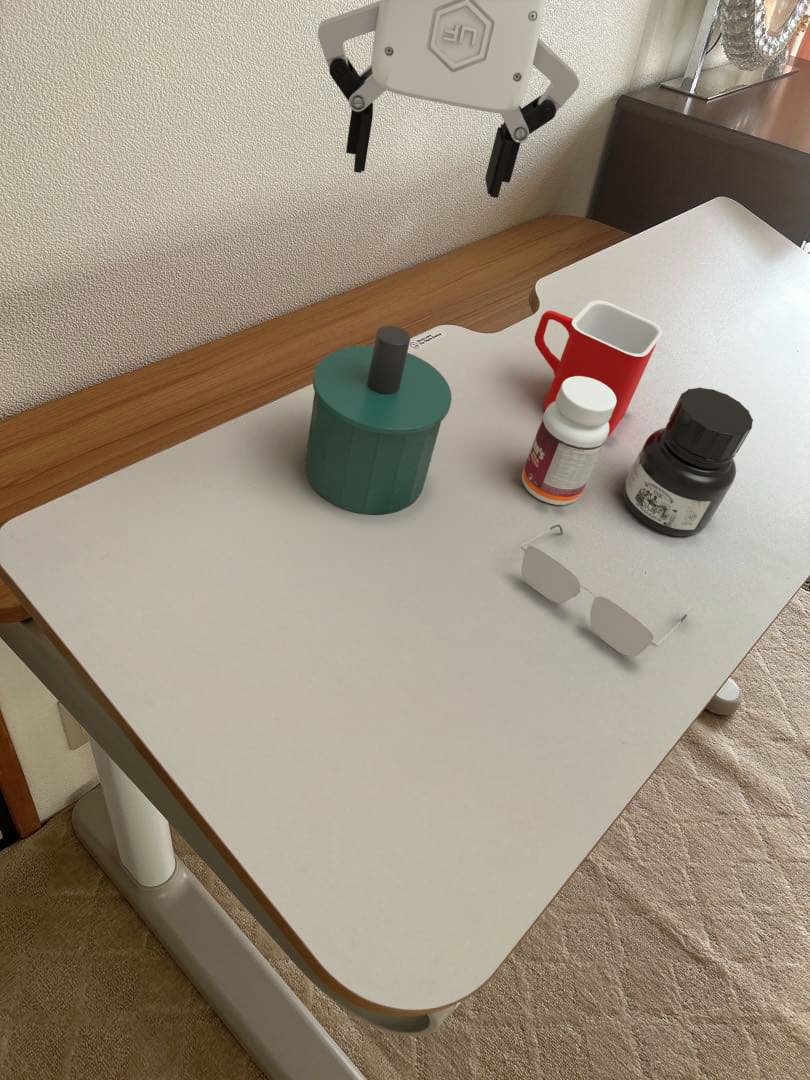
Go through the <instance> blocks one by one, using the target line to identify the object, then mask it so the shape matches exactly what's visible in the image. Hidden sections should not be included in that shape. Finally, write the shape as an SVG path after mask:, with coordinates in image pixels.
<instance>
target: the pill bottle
mask: <svg viewBox="0 0 810 1080" xmlns="http://www.w3.org/2000/svg"><path fill="white" fill-rule="evenodd" d="M616 401H617V400H616V396H615V394H614V392H613V391H612V390H611V389H610V388H609V387H608V386H606V385H605V384H603V383H602V382H600V381H597V380H595V379H592V378H588V377H583V376H574V377H570V378H567V379H566V380H565V381H564V382H563V383H562V385H561V387H560V390H559V392H558V394H557V397H556V401H554V402H553V403H551V404H550V405H549V406H548V407H547V409H546V411H545V410H544V413H543V416H542V418H541V421H540V423H539V426H538V429H537V431H536V434H535V436H534V439H533V442H532V445H531V447H530V449H529V453H528V455H527V458H526V461H525V463H524V466H523V470H522V472H521V480H522V484H523V486H524V488H525V489H526V491H528V492H529V493H530V494H531V495H532V496H533V497H534V498H536V499H537V500H540V501H542V502H544V503H547V504H552V505H558V506H561V505H562V506H564V505H565V506H566V505H570V504H572V503H575V501H577V500H578V499H579V498H581V495H582V494H583V492H584V490H585V488H586V486H587V484H588V481H589V479H590V476H591V474H592V472H593V470H594V468H595V465H596V463H597V461H598V458H599V457H600V454H601V452H602V450H603V448H604V445H605V443H606V441H607V439H608V437H609V436H608V434H609V422H608V421H609V420H610V418H611V415H612V412H613V410H614V408H615V405H616ZM607 436H608V437H607Z"/></svg>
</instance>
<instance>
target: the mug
mask: <svg viewBox="0 0 810 1080" xmlns="http://www.w3.org/2000/svg"><path fill="white" fill-rule="evenodd" d="M550 320H551V321H555V322H557V323H559V324H561V325H562V326H563V327H564V328H565V329H566V331H567V333H568V337H567V341H566V343H565V346H564V348H563V352H562V354H561V357H560V359H559V358H558V357H557V356H555V354H554V353H552V351H551V350H550V348H549V347H548V346H547V344H546V342H545V333H546V331H547V328H548V323H549V321H550ZM663 335H664V329H663V328H662V327H661V326H660V325H659V324H658V323H657V322H654V321H653V320H650V319H648V318H645V317H643V316H641V315H639V314H637V313H635V312H632V311H630V310H627V309H626V308H623V307H621V306H618V305H616V304H614V303H612V302H610V301H606V300H603V299H593V300H591V301H589V302H588V303H587V304H586V305H585V306H584V308H582V309H581V311H579V312H578V314H576V315H575V317H574V318H573V317H570V316H567V315H564V314H562V313H560V312H557V311H554V310H546V311H545V312H544V313H543V314H542V315H541V317H540V320H539V322H538V326H537V329H536V331H535V334H534V344H535V346H536V348H537V350H538V351H539V353H540V354H541V356H542V357H543V358H544V360H545V361H546V363H547V364H548V365H549V367H550V368H551V369H552V371H553V374H554V375H553V378H552V382H551V384H550V387H549V390H548V393H547V395H546V398H545V401H544V403H543V410H544V412H545V411H546V409H547V407H548V406H549V405H550V404H551V403H553V402H554V401H556V397H557V394H558V392H559V390H560V387H561V385H562V383H563V382H564V381H565V380H566V379H567V378H570V377H574V376H583V377H588V378H592V379H595V380H597V381H600V382H602V383H603V384H605V385H606V386H608V387H609V388H610V389H611V390H612V391H613V392H614V394H615V396H616V400H617V401H616V405H615V408H614V410H613V412H612V415H611V418H610V420H609V421H608V422H609V434H608V436H607V438H609V437H610V436H611V434H612V433H613V432H614V430H615V429H616V428H617V426H618V425H619V424H620V422H621V421H622V419H623V418H624V416H625V415H626V412H627V411H628V408H629V405H630V404H631V401H632V400H633V397H634V395H635V392H636V390H637V388H638V386H639V383H640V381H641V379H642V377H643V375H644V373H645V370H646V368H647V365H648V364H649V361H650V359H651V357H652V355H653V352H654V350H655V348H656V346H657V343H658V342H659V340H660V339H662V337H663Z"/></svg>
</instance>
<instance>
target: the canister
mask: <svg viewBox="0 0 810 1080" xmlns="http://www.w3.org/2000/svg"><path fill="white" fill-rule="evenodd" d="M312 401H313V402H312V407H311V415H310V421H309V422H310V423H309V428H308V435H307V436H308V437H307V443H306V450H305V456H304V457H305V458H304V460H305V473H306V474H305V475H306V477H307V480H308V482H309V483H310V485H311V487H312V489H314V491H315V492H316V493H317V494H318V495H319V496H321V497H322V499H324V500H326V501H327V502H329V503H331V504H332V505H334V506H336V507H338V508H341V509H342V510H346V511H349V512H352V513H356V514H363V515H372V516H373V515H374V516H376V515H386V514H393V513H396V512H399V511H402V510H404V509H406V508H408V507H410V506H411V505H412V504H414V503H415V502H416V501H417V500H418V498H419V497H420V496H421V494H422V493H423V489H424V486H425V483H426V480H427V477H428V476H427V475H428V472H429V469H430V465H431V461H432V457H433V454H434V450H435V446H436V443H437V439H438V435H439V432H440V428H441V424H442V421H441V422H440V423H438V424H437V425H436V426H434V427H432V428H430V429H428V430H425V431H422V432H418V433H413V434H405V435H391V434H381V433H375V432H371V431H367V430H363V429H360V428H357V427H355V426H352V425H350V424H348V423H346V422H344V421H342V420H340V419H339V418H337V417H336V416H334V415H333V414H332V413H331V412H329V411H328V410H327V409H326V408H325V407H324V406H323V405H322V404H321V402H320V401H319V399H318V398H317V396H316V394H315V392H314V393H313V400H312Z"/></svg>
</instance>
